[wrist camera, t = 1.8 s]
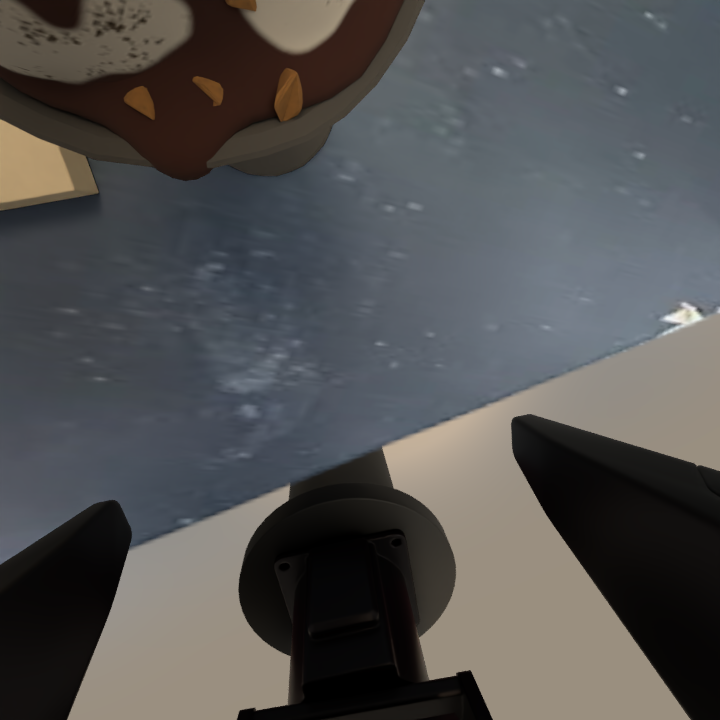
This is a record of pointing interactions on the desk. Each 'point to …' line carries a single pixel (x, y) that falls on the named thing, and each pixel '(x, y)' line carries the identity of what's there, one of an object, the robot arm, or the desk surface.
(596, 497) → the robot arm
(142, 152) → the sundae
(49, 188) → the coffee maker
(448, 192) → the desk surface
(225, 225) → the desk surface
